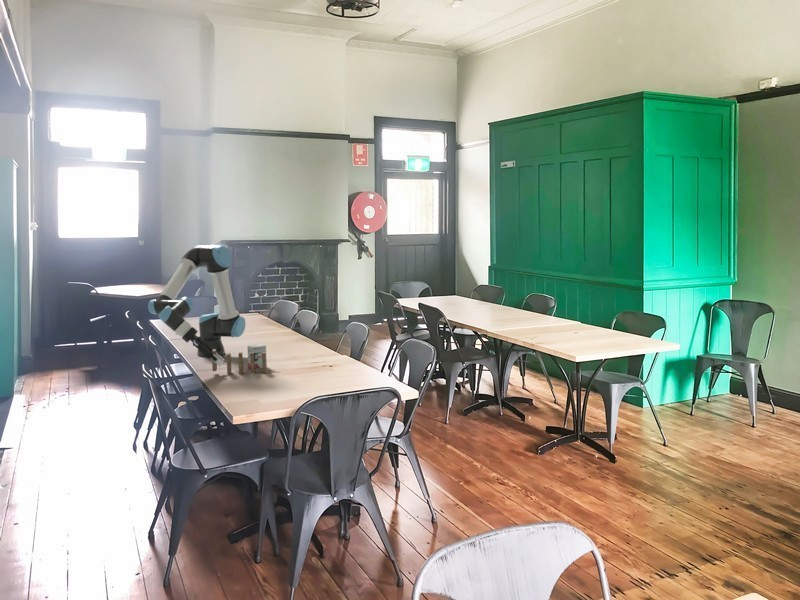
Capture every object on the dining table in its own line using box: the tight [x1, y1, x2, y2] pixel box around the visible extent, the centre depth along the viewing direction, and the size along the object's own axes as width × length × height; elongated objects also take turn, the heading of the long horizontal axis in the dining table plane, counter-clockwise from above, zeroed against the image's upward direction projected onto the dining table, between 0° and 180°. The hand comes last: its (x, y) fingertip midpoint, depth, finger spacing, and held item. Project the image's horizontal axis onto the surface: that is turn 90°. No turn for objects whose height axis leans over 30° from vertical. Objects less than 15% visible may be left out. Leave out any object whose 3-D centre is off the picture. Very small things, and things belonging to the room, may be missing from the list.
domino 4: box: [262, 351, 267, 374], centre depth 343 cm, size 5×2×10 cm, turn 9°
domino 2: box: [238, 352, 244, 375], centre depth 341 cm, size 5×2×10 cm, turn 9°
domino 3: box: [250, 352, 256, 374], centre depth 342 cm, size 5×2×10 cm, turn 9°
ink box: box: [247, 343, 268, 370], centre depth 353 cm, size 9×5×12 cm, turn 126°
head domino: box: [211, 349, 218, 372], centre depth 339 cm, size 5×2×10 cm, turn 9°
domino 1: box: [226, 352, 232, 375], centre depth 341 cm, size 5×2×10 cm, turn 9°
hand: (222, 363), depth 340 cm, fingers closed on head domino, 5 cm apart
